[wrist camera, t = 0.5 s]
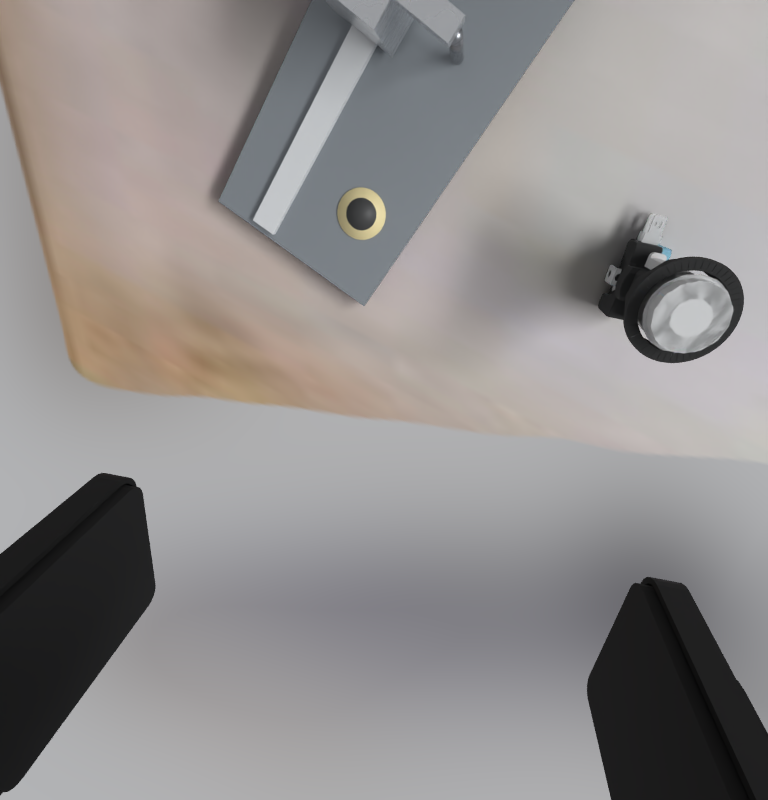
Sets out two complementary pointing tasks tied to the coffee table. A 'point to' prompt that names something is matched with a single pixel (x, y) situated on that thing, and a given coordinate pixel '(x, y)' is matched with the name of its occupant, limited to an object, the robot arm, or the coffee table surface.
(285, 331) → the coffee table surface
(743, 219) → the coffee table surface
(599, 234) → the coffee table surface
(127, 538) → the robot arm
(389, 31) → the sliding block
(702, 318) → the push button
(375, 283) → the plate
